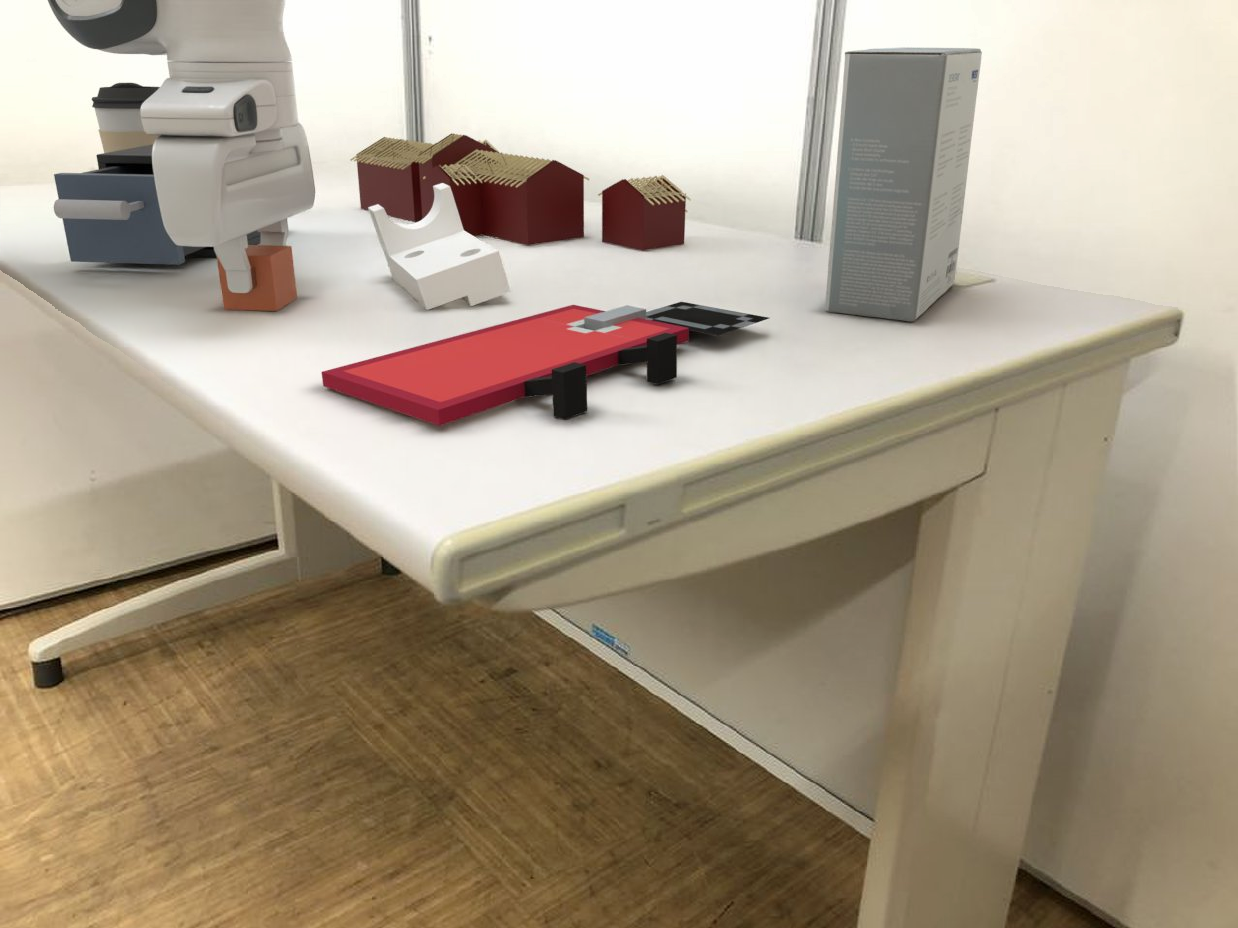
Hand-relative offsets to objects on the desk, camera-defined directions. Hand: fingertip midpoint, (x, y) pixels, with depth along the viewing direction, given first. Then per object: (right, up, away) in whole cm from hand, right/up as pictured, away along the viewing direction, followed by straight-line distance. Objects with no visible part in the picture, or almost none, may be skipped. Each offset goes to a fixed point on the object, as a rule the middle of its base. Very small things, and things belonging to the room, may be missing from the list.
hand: (258, 283), depth 83 cm
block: (0, -2, +1) cm, 2 cm away
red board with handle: (+26, -8, -13) cm, 31 cm away
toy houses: (+17, +13, +37) cm, 43 cm away
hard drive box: (+53, -1, +5) cm, 53 cm away
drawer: (-16, +5, +15) cm, 22 cm away
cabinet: (-15, +9, +25) cm, 31 cm away
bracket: (+14, 0, +6) cm, 15 cm away
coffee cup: (-28, +16, +43) cm, 53 cm away
